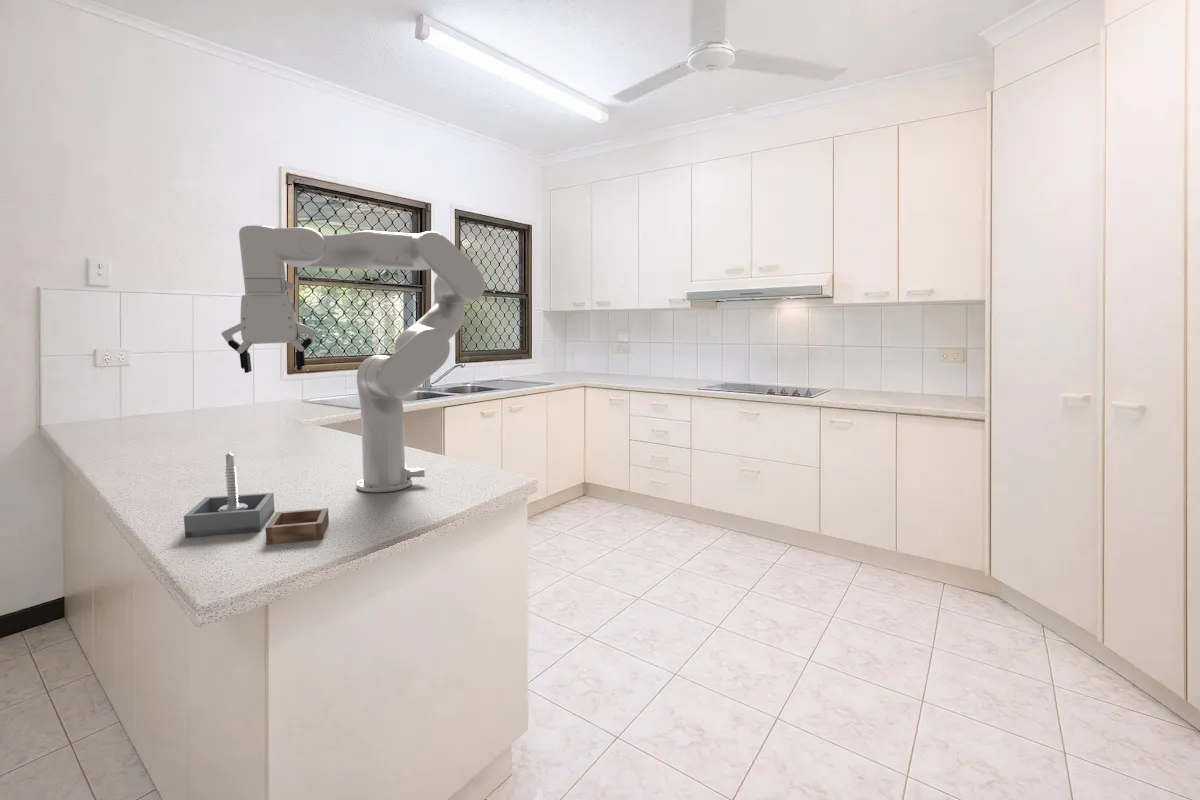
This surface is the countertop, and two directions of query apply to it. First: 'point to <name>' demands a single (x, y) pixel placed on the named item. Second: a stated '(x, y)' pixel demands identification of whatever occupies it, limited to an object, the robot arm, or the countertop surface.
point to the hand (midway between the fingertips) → (274, 371)
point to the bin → (229, 515)
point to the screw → (231, 487)
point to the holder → (297, 526)
